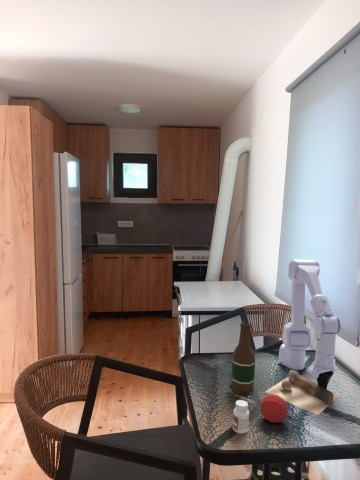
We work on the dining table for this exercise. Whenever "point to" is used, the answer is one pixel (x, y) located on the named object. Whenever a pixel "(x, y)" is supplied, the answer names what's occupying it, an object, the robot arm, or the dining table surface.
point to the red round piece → (273, 408)
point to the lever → (311, 387)
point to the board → (299, 396)
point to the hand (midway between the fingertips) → (321, 391)
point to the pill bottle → (241, 417)
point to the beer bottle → (243, 363)
